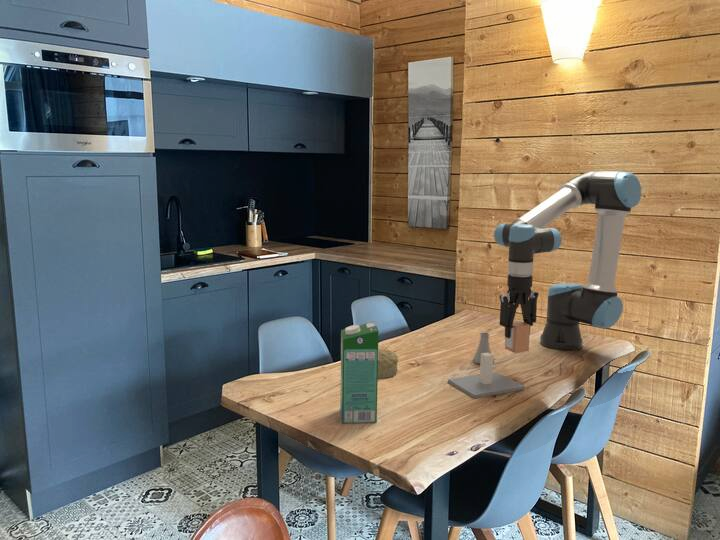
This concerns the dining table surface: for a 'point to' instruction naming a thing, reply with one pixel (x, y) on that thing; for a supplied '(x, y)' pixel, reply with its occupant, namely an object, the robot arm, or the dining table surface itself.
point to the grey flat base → (485, 381)
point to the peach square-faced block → (520, 337)
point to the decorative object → (387, 363)
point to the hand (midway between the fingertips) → (516, 345)
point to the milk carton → (359, 373)
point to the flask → (482, 347)
